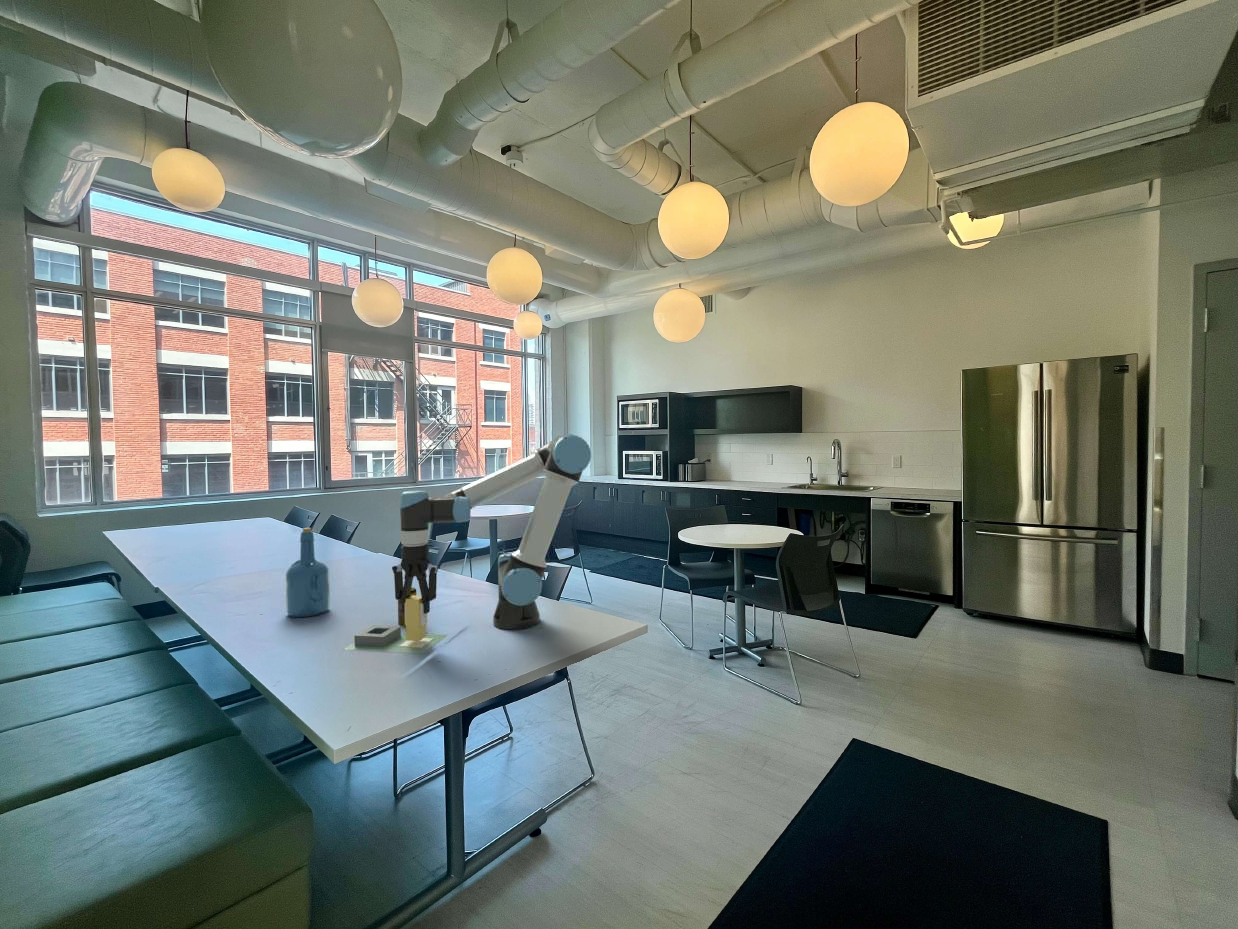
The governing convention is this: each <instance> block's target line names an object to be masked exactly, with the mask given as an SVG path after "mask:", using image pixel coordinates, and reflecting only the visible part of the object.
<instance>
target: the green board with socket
mask: <svg viewBox="0 0 1238 929" xmlns="http://www.w3.org/2000/svg"><path fill="white" fill-rule="evenodd" d="M401 629H402V625H399V626H398V625H395V626H394V625H376V624H375V625H374V624H373V625H371V626H369V627H367V628H366V629H364V630H361V631H360V632H359V633H357V634H355V635H354V642H353V643H352V644H350V645H349V646H346V647H345V648H343V650H344V651H360V652H362V651H364V652H365V651H366V652H378V653H379V652H380V653H400V654H418V655H419V654H420V655H421V654H425V653H426V652H427V651H428V650H430V649H431V648H432V647H434V646H435V645H437V643H439V642H440V641H442V640H443V639H444V638H446V637H447V636H448V634H437V633H436V634H435V633H434V634H433V633H426V637H425V638H423V639H422V640H420V641H407V640H406V632H402V630H401Z"/></svg>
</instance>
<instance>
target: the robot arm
mask: <svg viewBox="0 0 1238 929" xmlns="http://www.w3.org/2000/svg"><path fill="white" fill-rule="evenodd" d="M591 458H592V452H591V448H590V446H589V444H588V442H587V441H586V440H585V439H584V438H582V437H581V436H578V435H575V434H570V433H569V434H563V435H560V436H559V435H558V437H557V436H556V437H555V438H554V439H552V440H551V441H549V442H548V443H546V444H545V445H542V446H541V447H539V448H537V449H534V451H533V453H532V454H531V455H529V456H527V457H524V458H523V459H520V460H518V461H517V462H514V463H511V464H510V465H508V466H505V467H503V468H501V469H499V470H496V471H495V472H492V473H490V474H488V475H486V476H484V477H482V478H479V479H477V480H475V481H473V482H471V483H469V484H467V485H466V484H465V486H462V487H461V488H457V489H456V490H454V491H452V492H447V493H446V494H443V496H441V497H439V496H438V497H433V496H432V497H430V495H429V493H428V491H427V490H407V491H404V492H402V493H401V495H400V506H399V508H400V543H401V544H402V545H401V548H400V552H401V553H400V557H401V561H400V564H399V563H398V564H396V565H393V566H392V567H391V570H392V573H393V574H394V576H393V577H394V578H393V579H394V597H395V600H396V601H398V600H401V601H402V612H403V613H405V625H404V626H406V599H407V598H409V597H410V592H411V588H413V581H414V578H415V577H416V580H417V582H418V586H419V587H418V588H419V591H420V592H419V593H420V596H421V597H422V602H421V603H420V626H423V625H425V624H426V625H427V624H428V613H430V611H431V609H430V606H431V605H430V603H431V601H434V600H435V599H436V598H437V578H438V577H437V574H438V571H439V565H433V564H431V562H430V560H429V556H430V546H429V541H430V540H429V539H430V538H429V537H430V536H429V533H430V532H429V524H436V523H437V524H438V523H442V524H443V523H459V524H460V523H463V522H465V523H466V522H469V521H470V520H471V510H472V509H474V508H476V507H478V506H480V505H483V504H485V503H486V502H489V501H492V500H494V499H495V498H498V497H500V496H502V495H504V494H506V493H507V492H510V491H512V490H514V489H516V488H519V487H520V486H522V485H525V484H527V483H529V482H531V481H533V480H536V479H538V478H540V477H542V476H545V478H544V480H543V483H542V486H541V489H540V491H539V494H538V497H537V499H536V500H535V501H536V503H535V505H534V506H533V509H532V511H531V512H532V513H531V515H530V517H529V520H528V523H527V526H526V528H525V530H524V533H523V536H522V539H521V541H520V544H519V547H518V549H517V550H515V551H513V552H510V553H503V554H500V555H499V556H498V558H497V559H498V560H497V567H498V568H497V570H498V571H497V572H498V573H497V575H498V578H497V579H498V580H497V581H498V586H497V587H498V601H497V603H496V607H495V611H494V613H493V618H492V620H493V626H494V627H496V628H498V629H503V630H521V629H523V630H524V629H528V628H531V627H534V626H536V625H538V624H539V623H540V621H541V620H540V619H541V618H540V616H541V615H540V611H539V609H538V606H537V602H536V600H537V599H538V597H540V594H541V592H542V590H543V589H542V587H543V581H542V580H543V578H544V575H545V573H546V569H547V567H548V565H547V562H546V560H545V559H546V556H547V553H548V550H549V548H550V546H551V542H552V540H553V538H554V534H555V532H556V529H557V526H558V524H559V522H560V519H561V515H562V514H563V510H564V508H565V505H566V502H567V499H568V498H569V495H570V492H571V489H572V487H573V486H575V485H577V484H579V482H580V479H581V476H582V474H583V472H584V470H585V469H586V468H588V466H589V464H590V462H591ZM427 570H428V580H427ZM403 571H404V574H403ZM403 575H404V576H403Z"/></svg>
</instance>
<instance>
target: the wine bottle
mask: <svg viewBox="0 0 1238 929" xmlns="http://www.w3.org/2000/svg"><path fill="white" fill-rule="evenodd" d="M314 536H315V535H314V531H312V528H311V527H305V528H302V531H301V532H300V539H299V543H300V549H299V550H300V555H299V557H300V558H299V559H298V560H296V561H295V562H294V563H292V564H291V566H290V567H289V568H288V569H287V571H286V572H285V601H286V602H285V603H286V604H285V605H286V606H285V607H286V608H285V610H286V614H287V616H289V617H293V618H309V617H313V616H314V617H315V616H318V615H321V614H324V613H326V612H328V610H329V609H330V607H331V606H330V602H331V601H330V600H331V599H330V598H331V597H330V593H331V591H330V570H329V568H328V566H327V565H326V564H325V563H324V562H321V561H318V560H316V557H315V544H314V543H315V542H314V541H315V537H314Z"/></svg>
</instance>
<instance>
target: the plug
mask: <svg viewBox="0 0 1238 929" xmlns="http://www.w3.org/2000/svg"><path fill="white" fill-rule="evenodd" d="M421 602H422V597H421V595H416V596H415V595H413V596H411V597H409V598H407V599H406V625H405V633H406V640H407V641H420V640H422V639H423V638H425V637H426V634H427V623H426V624H425V625H423V626H420V603H421Z"/></svg>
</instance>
